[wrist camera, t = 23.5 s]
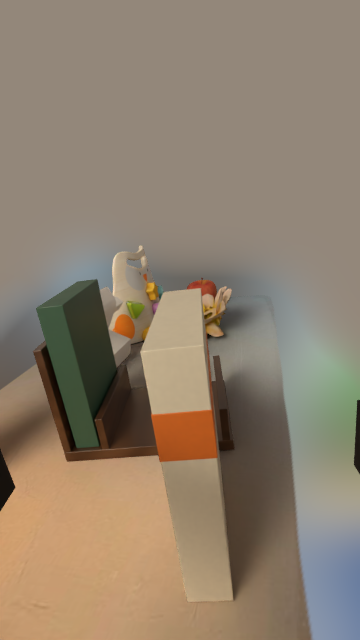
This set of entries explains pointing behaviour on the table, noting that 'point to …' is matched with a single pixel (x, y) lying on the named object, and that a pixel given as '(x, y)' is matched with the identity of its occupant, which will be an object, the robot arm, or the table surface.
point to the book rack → (123, 415)
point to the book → (188, 442)
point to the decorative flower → (215, 310)
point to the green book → (80, 355)
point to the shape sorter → (134, 296)
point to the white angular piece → (118, 341)
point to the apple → (204, 287)
